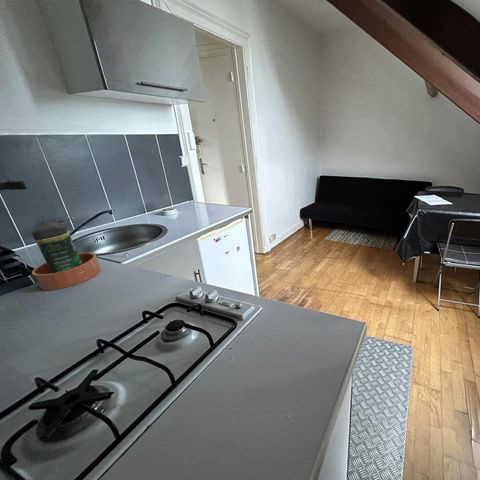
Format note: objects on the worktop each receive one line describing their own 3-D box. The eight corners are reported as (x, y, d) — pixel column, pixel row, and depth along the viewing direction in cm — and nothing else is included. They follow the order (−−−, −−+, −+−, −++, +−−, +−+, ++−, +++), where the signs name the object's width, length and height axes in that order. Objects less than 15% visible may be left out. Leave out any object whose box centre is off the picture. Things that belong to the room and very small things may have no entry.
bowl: (31, 296, 80) (22, 280, 77) (49, 274, 93) (42, 260, 90) (96, 279, 87) (90, 265, 85) (104, 261, 100) (99, 248, 97)
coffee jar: (86, 275, 88) (62, 224, 81) (54, 284, 84) (26, 231, 76) (86, 266, 95) (64, 217, 88) (57, 274, 90) (31, 223, 83)
